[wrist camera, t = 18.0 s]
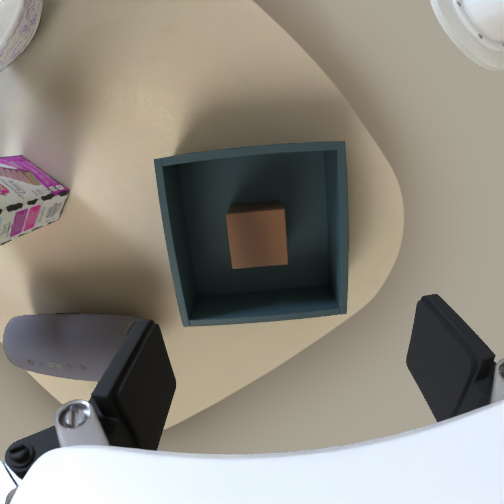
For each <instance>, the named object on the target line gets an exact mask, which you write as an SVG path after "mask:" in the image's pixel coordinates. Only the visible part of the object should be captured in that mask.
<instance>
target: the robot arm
mask: <svg viewBox="0 0 504 504" xmlns="http://www.w3.org/2000/svg"><path fill="white" fill-rule="evenodd" d="M451 1H452V5H453V8H454V10H455V13H456V14H457V16H458V18H459V20H460V21H461V23H462V24H463V26H464V27H465V29H466V30H467V31H468V32H469V34H470V35H471V36H472V37H473V38H474V39H475V40H476V41H477V42H479V43H480V44H481V45H482V46H484V47H485V48H487V49H489V50H491V51H495V52H502V51H504V0H451ZM494 358H495V354H494V353H493V352H492V351H491V350H490V349H489V347H488V346H487V345H486V344H485V343H484V342H483V341H482V340H481V339H480V338H479V336H478V335H477V334H475V332H474V331H473V330H472V329H471V328H470V327H469V326H468V325H467V324H466V323H465V322H464V320H462V318H461V317H460V316H459V315H458V314H457V313H456V312H455V311H454V310H453V309H452V308H451V307H450V306H449V305H448V304H447V303H446V302H445V301H444V300H443V299H442V298H441V297H440V296H439V295H437V294H432V295H427V296H423V297H422V298H421V300H420V301H418V303H417V307H416V313H415V319H414V324H413V329H412V335H411V340H410V344H409V349H408V353H407V359H406V363H407V366H408V369H409V371H410V372H411V374H412V376H413V378H414V379H415V381H416V383H417V385H418V387H419V388H420V390H421V392H422V394H423V396H424V398H425V400H426V401H427V403H428V405H429V407H430V409H431V411H432V413H433V415H434V417H435V418H436V421H437V423H435V424H431V425H428V426H425V427H421V428H418V429H414V430H411V431H407V432H403V433H399V434H395V435H391V436H387V437H382V438H378V439H373V440H369V441H363V442H358V443H353V444H347V445H341V446H334V447H328V448H321V449H312V450H304V451H293V452H281V453H265V454H196V453H179V452H164V451H157V448H158V445H159V441H160V437H161V435H162V431H163V428H164V425H165V422H166V418H167V415H168V412H169V408H170V405H171V402H172V399H173V396H174V392H175V389H176V379H175V376H174V373H173V370H172V367H171V364H170V360H169V357H168V354H167V351H166V347H165V344H164V341H163V337H162V334H161V330H160V327H159V325H158V324H155V323H154V321H153V320H137V321H136V322H135V324H134V325H133V327H132V329H131V330H130V332H129V333H128V335H127V336H126V338H125V340H124V341H123V343H122V344H121V346H120V348H119V349H118V351H117V352H116V354H115V356H114V357H113V359H112V361H111V362H110V364H109V366H108V367H107V369H106V371H105V372H104V374H103V376H102V377H101V379H100V381H99V382H98V384H97V386H96V387H95V389H94V391H93V392H92V394H91V398H90V400H89V402H88V401H85V400H73V401H69V402H67V403H65V404H64V405H62V406H61V407H60V408H59V409H58V410H57V412H56V414H55V417H54V422H55V425H54V426H52V427H50V428H48V429H45V430H43V431H40V432H38V433H36V434H33V435H31V436H28V437H25V438H23V439H21V440H18V441H16V442H14V443H13V444H12V445H11V446H10V447H9V448H8V449H7V451H6V454H5V462H4V463H3V462H2V461H1V460H0V504H504V359H502V360H500V361H498V363H497V364H496V363H495V362H494Z"/></svg>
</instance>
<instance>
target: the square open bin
mask: <svg viewBox="0 0 504 504" xmlns="http://www.w3.org/2000/svg"><path fill="white" fill-rule="evenodd" d="M154 165H155V173H156V181H157V188H158V195H159V202H160V209H161V215H162V221H163V227H164V233H165V239H166V245H167V250H168V256H169V261H170V267H171V272H172V277H173V282H174V287H175V292H176V296H177V301H178V306H179V310H180V315H181V319H182V323H183V326H184V327H186V326H210V325H228V324H244V323H257V322H270V321H281V320H292V319H302V318H312V317H321V316H330V315H338V314H346V313H347V293H348V251H349V230H348V188H347V167H346V151H345V142H344V141H340V142H309V143H290V144H275V145H262V146H250V147H240V148H231V149H222V150H213V151H205V152H198V153H191V154H184V155H177V156H171V157H165V158H159V159H154ZM275 200H280V201H281V203H282V205H283V208H284V210H285V222H286V237H287V253H288V264H285V265H273V266H261V267H249V268H237V269H233V268H232V262H231V254H230V245H229V237H228V229H227V220H226V214H227V211H228V209H229V207H230V205H231V204H241V203H252V202H263V201H275Z"/></svg>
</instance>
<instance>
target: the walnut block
mask: <svg viewBox="0 0 504 504" xmlns="http://www.w3.org/2000/svg"><path fill="white" fill-rule="evenodd" d="M226 220H227V229H228V237H229V245H230V254H231V262H232V268H233V269H237V268H249V267H261V266H273V265H285V264H288V253H287V237H286V222H285V210H284V208H283V205H282V203H281V201H280V200H275V201H263V202H252V203H241V204H231V205H230V207H229V209H228V211H227V214H226Z"/></svg>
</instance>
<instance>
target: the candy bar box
mask: <svg viewBox="0 0 504 504" xmlns="http://www.w3.org/2000/svg"><path fill="white" fill-rule="evenodd" d="M69 192H70V190H68V189H67V188H66V187H64V186H63V185H61V184H60V183H59V182H57V181H56V180H54V179H53V178H52V177H50V176H49V175H47V174H46V173H45V172H43V171H42V170H41V169H39V168H38V167H36V166H35V165H34V164H33V163H31V162H30V161H29V160H27V159H26V158H25V157H23V156H22V155H18V156H9V157H0V245H3V244H5V243H7V242H9V241H11V240H13V239H16V238H18V237H20V236H22V235H24V234H27V233H29V232H31V231H33V230H36V229H38V228H40V227H43V226H45V225H47V224H50V223H52V222H55V221H57V220H59V218H60V215H61V212H62V209H63V207H64V204H65V202H66V200H67V198H68V195H69Z"/></svg>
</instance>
